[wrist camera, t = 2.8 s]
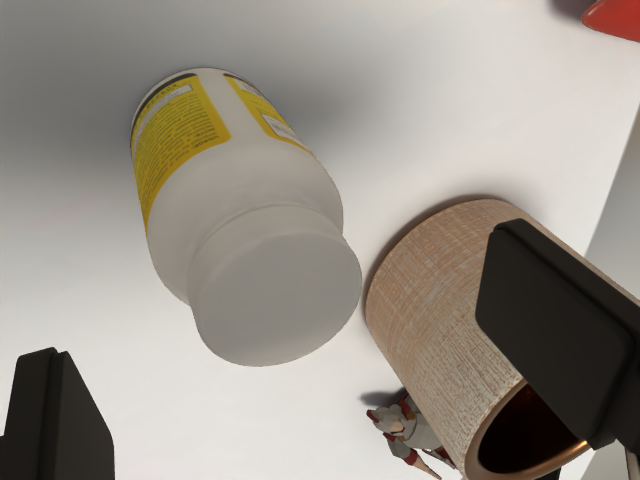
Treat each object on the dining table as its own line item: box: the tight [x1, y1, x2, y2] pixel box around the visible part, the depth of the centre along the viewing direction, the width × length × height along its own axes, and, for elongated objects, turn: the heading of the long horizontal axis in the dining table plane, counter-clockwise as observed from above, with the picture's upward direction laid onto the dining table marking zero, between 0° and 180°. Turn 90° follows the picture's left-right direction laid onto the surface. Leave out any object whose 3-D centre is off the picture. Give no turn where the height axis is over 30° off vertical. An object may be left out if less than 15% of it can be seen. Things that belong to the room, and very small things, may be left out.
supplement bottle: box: [130, 68, 362, 367], centre depth 15 cm, size 5×5×10 cm
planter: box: [366, 199, 640, 480], centre depth 25 cm, size 11×11×10 cm
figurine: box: [366, 393, 561, 480], centre depth 34 cm, size 7×7×15 cm
